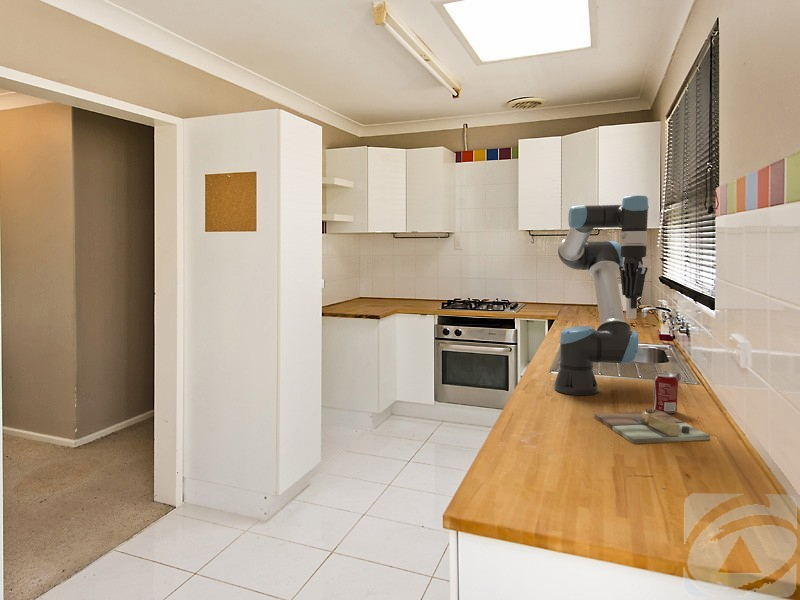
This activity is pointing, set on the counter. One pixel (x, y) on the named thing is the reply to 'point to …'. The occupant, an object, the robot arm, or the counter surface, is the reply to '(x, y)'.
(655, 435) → the latch board
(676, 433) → the swing bar
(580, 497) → the counter surface
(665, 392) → the soda can
